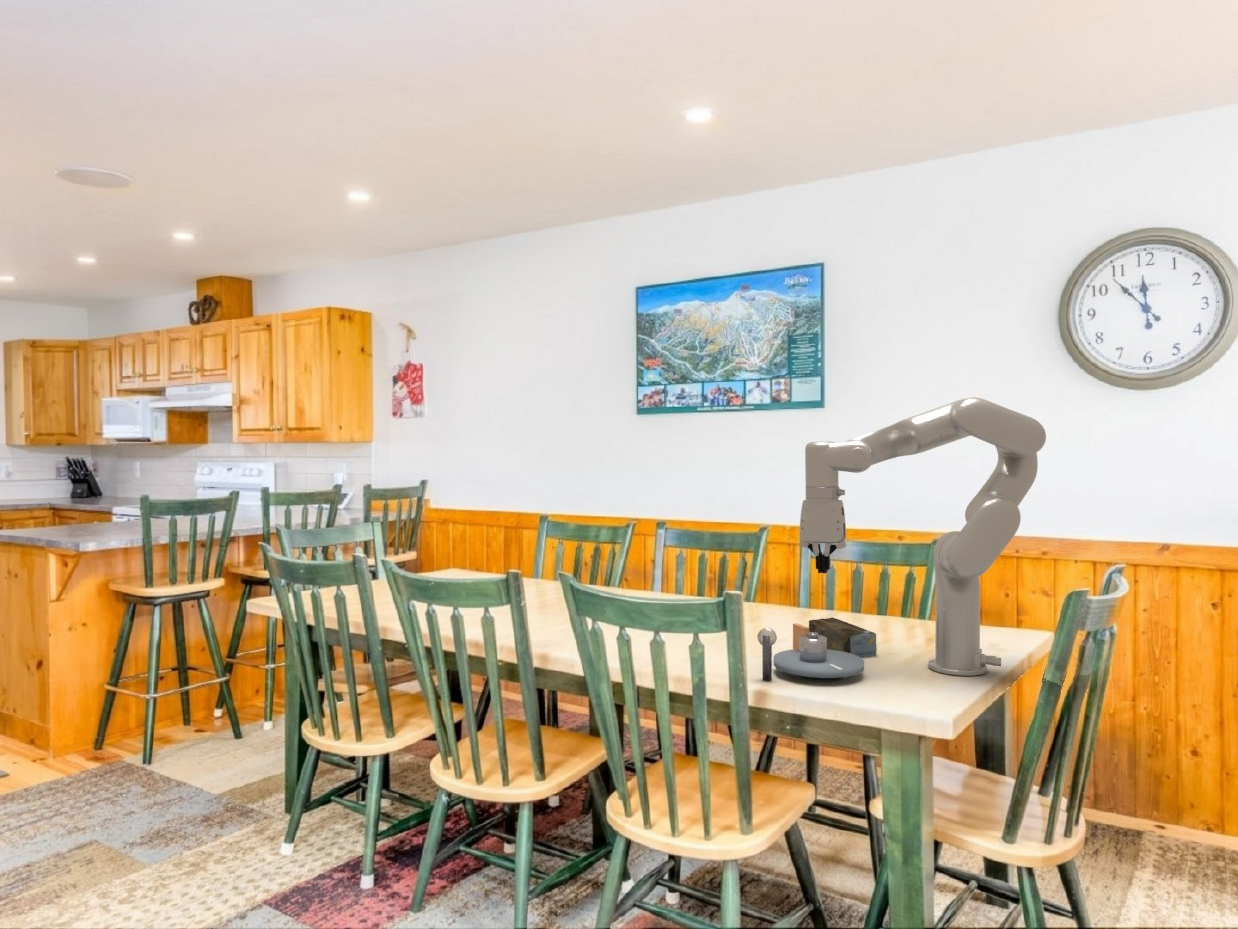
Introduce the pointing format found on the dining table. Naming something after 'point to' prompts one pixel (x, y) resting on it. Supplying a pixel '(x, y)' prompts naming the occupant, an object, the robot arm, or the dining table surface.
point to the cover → (813, 648)
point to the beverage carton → (845, 636)
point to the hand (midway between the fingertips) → (822, 572)
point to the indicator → (767, 651)
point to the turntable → (832, 668)
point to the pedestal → (818, 678)
